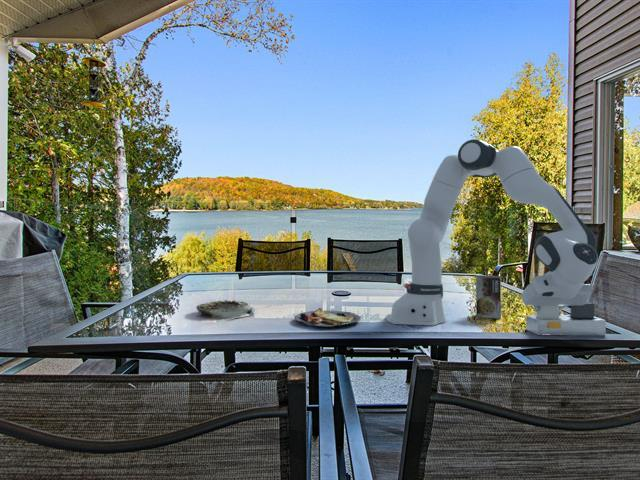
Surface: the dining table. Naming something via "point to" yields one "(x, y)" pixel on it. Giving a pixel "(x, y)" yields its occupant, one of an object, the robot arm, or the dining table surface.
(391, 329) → the dining table surface
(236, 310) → the grey round shallow dish
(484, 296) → the coffee box
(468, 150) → the robot arm
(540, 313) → the panel
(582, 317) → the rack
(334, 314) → the food plate
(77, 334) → the dining table surface
